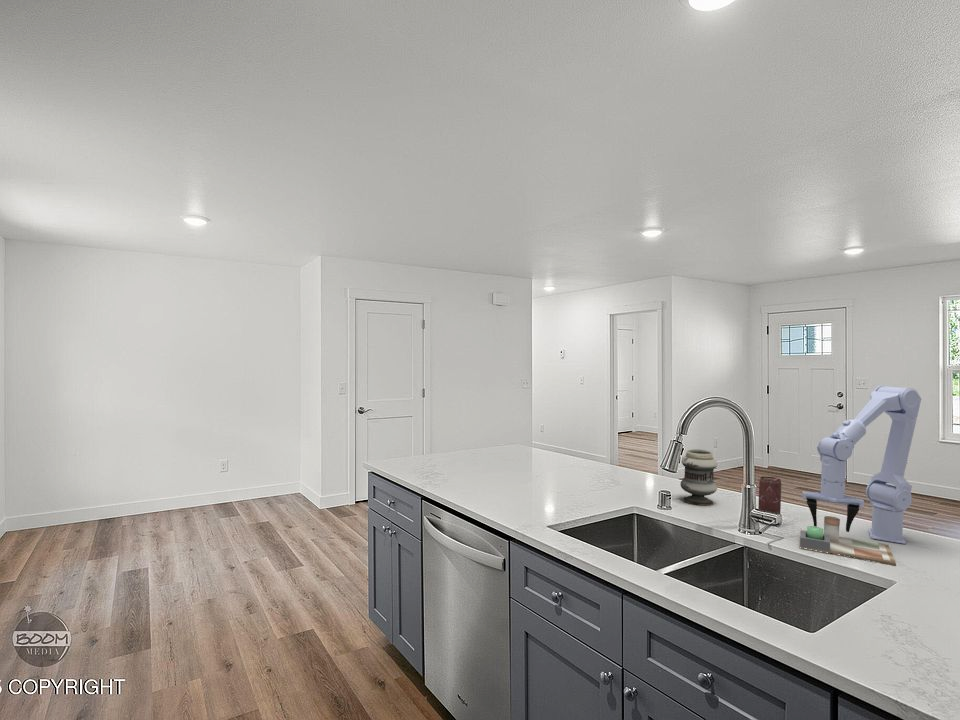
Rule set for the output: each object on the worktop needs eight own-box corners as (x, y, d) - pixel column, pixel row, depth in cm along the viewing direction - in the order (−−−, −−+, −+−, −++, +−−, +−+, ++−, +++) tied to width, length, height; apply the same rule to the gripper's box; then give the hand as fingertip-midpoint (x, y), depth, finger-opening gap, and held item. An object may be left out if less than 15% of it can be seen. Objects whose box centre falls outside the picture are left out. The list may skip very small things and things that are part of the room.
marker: (823, 535, 157) (824, 515, 156) (838, 538, 155) (839, 517, 154) (823, 539, 153) (824, 518, 153) (839, 542, 151) (840, 521, 151)
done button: (806, 536, 152) (807, 525, 152) (822, 538, 150) (823, 527, 150) (806, 539, 149) (807, 529, 149) (823, 542, 147) (823, 531, 147)
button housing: (800, 539, 154) (800, 530, 154) (828, 543, 150) (829, 535, 150) (800, 546, 148) (800, 537, 148) (829, 551, 145) (830, 542, 145)
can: (785, 525, 168) (786, 480, 168) (766, 526, 167) (768, 480, 167) (771, 519, 174) (773, 475, 174) (753, 519, 173) (755, 476, 173)
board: (800, 532, 162) (800, 529, 162) (888, 546, 151) (888, 543, 151) (799, 548, 148) (799, 545, 148) (895, 565, 137) (896, 562, 137)
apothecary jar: (678, 503, 190) (679, 452, 189) (681, 495, 201) (683, 446, 200) (716, 508, 185) (717, 455, 184) (717, 499, 195) (718, 450, 195)
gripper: (803, 479, 154) (801, 526, 154) (865, 487, 146) (863, 537, 147) (803, 474, 160) (801, 520, 160) (863, 482, 152) (861, 530, 153)
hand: (831, 528), depth 154 cm, fingers open, 7 cm apart
